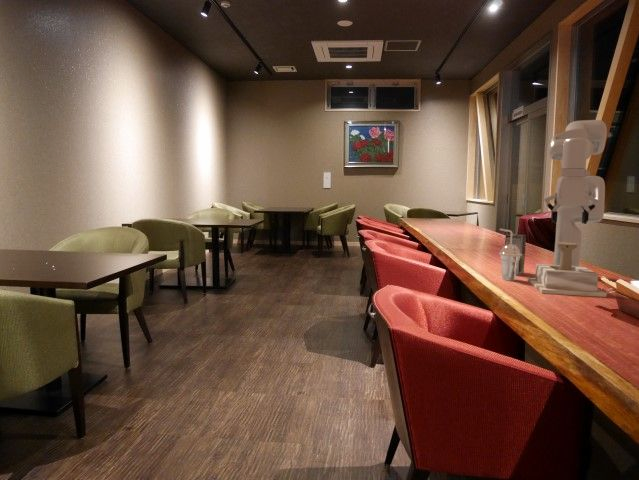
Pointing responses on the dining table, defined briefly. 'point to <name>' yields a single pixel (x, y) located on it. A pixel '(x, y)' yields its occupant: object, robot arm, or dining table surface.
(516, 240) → the coffee box
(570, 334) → the dining table surface
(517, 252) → the cup with straw
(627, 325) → the dining table surface
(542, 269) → the socket holder
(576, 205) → the robot arm
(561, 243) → the handle
